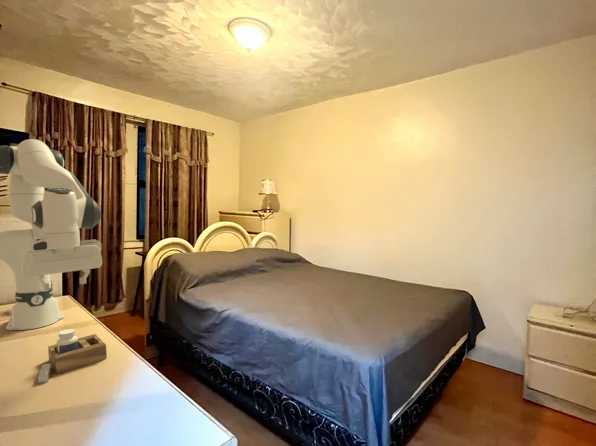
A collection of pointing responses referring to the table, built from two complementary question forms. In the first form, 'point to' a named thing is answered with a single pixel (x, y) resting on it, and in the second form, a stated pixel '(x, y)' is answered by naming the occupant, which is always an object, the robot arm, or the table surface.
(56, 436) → the table surface
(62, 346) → the pill bottle
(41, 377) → the slim grey peg
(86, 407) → the table surface
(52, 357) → the wooden compartment tray
